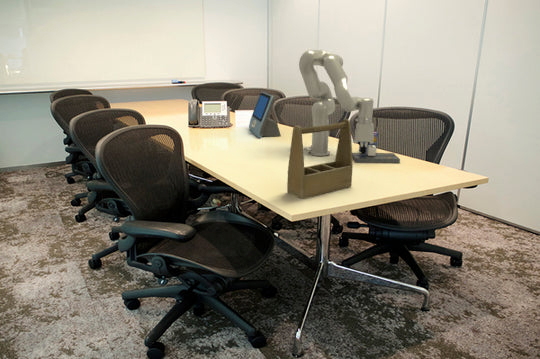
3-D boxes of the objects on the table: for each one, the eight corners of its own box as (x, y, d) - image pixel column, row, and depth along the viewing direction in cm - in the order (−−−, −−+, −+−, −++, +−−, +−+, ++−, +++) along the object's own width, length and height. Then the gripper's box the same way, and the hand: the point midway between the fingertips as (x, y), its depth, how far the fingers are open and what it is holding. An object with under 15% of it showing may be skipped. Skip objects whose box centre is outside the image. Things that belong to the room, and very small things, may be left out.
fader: (368, 155, 231) (368, 146, 229) (366, 153, 235) (367, 145, 233) (375, 155, 231) (376, 146, 229) (373, 153, 235) (374, 145, 233)
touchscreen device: (246, 130, 321) (247, 90, 313) (271, 130, 326) (272, 91, 317) (256, 138, 289) (257, 95, 280) (283, 138, 293) (285, 95, 285)
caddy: (302, 199, 170) (304, 127, 162) (286, 192, 179) (287, 123, 170) (351, 186, 187) (356, 120, 178) (335, 181, 195) (338, 117, 186)
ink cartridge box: (364, 153, 248) (365, 129, 244) (358, 151, 253) (359, 128, 249) (376, 152, 253) (378, 128, 248) (370, 150, 257) (372, 127, 253)
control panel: (355, 162, 227) (356, 158, 226) (351, 156, 241) (351, 152, 240) (399, 163, 227) (400, 158, 226) (392, 157, 240) (393, 152, 239)
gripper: (352, 122, 224) (350, 155, 229) (380, 122, 223) (377, 155, 229) (350, 119, 231) (348, 151, 236) (377, 120, 231) (374, 152, 236)
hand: (362, 153), depth 233 cm, fingers closed
